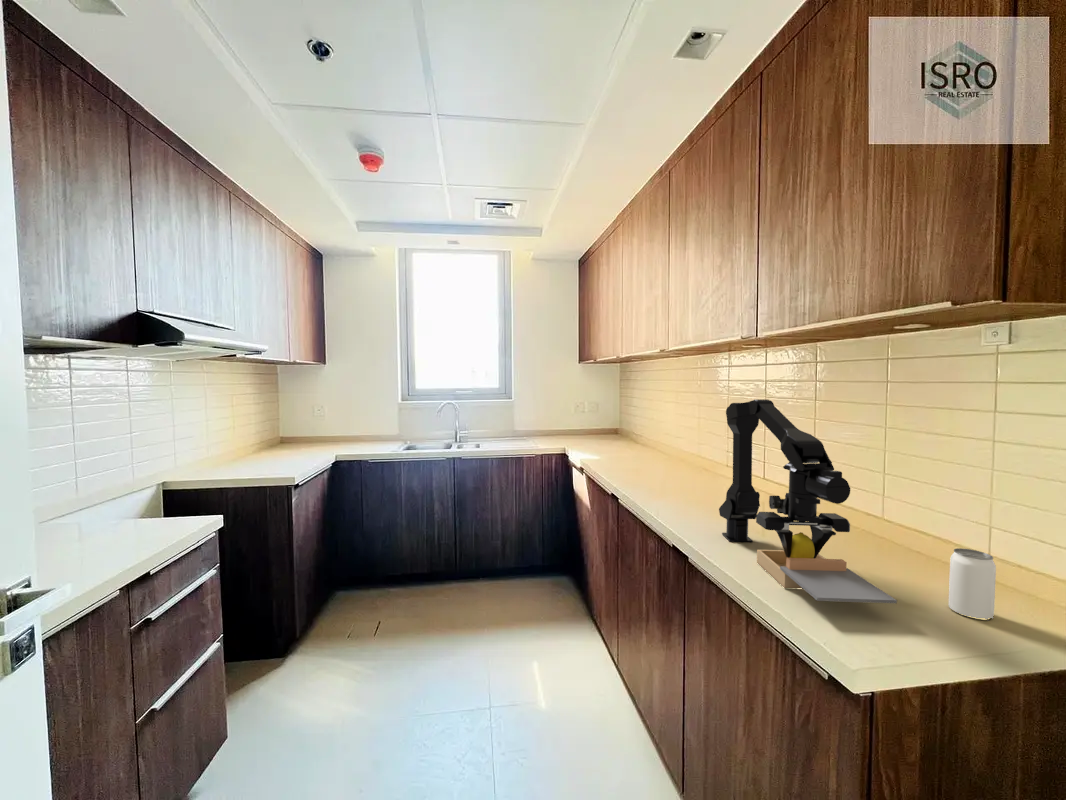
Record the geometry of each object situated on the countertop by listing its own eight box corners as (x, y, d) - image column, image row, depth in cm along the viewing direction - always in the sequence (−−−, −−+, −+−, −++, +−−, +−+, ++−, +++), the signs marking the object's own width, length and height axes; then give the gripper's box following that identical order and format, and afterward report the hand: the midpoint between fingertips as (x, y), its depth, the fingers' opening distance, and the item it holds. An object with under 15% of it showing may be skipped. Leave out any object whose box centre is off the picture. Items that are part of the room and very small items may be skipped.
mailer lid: (780, 568, 101) (780, 557, 100) (847, 570, 100) (848, 559, 100) (817, 600, 86) (817, 587, 86) (896, 603, 85) (897, 589, 85)
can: (1000, 624, 85) (1003, 562, 84) (956, 616, 88) (958, 556, 87) (984, 609, 91) (986, 550, 90) (942, 602, 94) (945, 545, 93)
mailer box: (756, 563, 113) (757, 549, 113) (814, 564, 112) (814, 551, 112) (784, 588, 99) (784, 573, 99) (850, 591, 98) (850, 575, 98)
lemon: (795, 559, 109) (796, 527, 109) (819, 568, 105) (820, 534, 104) (781, 564, 107) (782, 530, 106) (805, 572, 102) (806, 538, 102)
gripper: (824, 484, 112) (821, 545, 113) (747, 483, 114) (745, 543, 114) (852, 496, 101) (850, 564, 102) (767, 494, 102) (765, 561, 103)
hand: (800, 557), depth 106 cm, fingers closed on lemon, 5 cm apart
